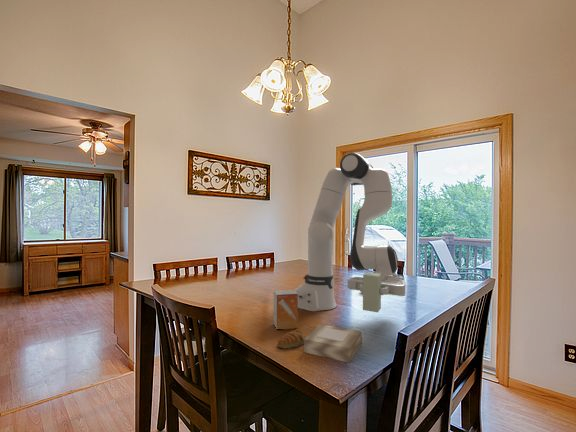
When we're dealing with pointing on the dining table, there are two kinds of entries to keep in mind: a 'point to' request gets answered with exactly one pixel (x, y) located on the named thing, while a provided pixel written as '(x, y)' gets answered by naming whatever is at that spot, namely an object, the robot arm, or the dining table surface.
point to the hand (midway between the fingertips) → (371, 290)
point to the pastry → (291, 339)
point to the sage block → (371, 292)
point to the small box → (286, 309)
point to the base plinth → (333, 342)
